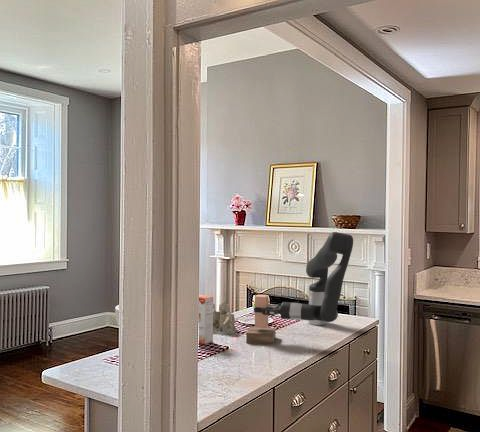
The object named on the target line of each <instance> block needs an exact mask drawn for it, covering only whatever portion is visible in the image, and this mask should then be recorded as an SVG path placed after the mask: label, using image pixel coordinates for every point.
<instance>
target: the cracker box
mask: <svg viewBox="0 0 480 432" xmlns="http://www.w3.org/2000/svg"><path fill="white" fill-rule="evenodd" d="M213 304H214V297H213V296H210V295H206V294H205V295H204V294H199V343H198V344H201V345H204V344H205V345H207V344H211V343H213V342H214V333H213Z"/></svg>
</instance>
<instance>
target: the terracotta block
mask: <svg viewBox="0 0 480 432" xmlns="http://www.w3.org/2000/svg"><path fill="white" fill-rule="evenodd" d="M268 304H269V294H257V295H255V296H254V308H255V307H260V308H263V307H264V308H267V307H268ZM265 312H267V311H266V310H265ZM254 327H261V328H266V327H269V315H263V314H262V313H259V312H254Z"/></svg>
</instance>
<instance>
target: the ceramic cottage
mask: <svg viewBox="0 0 480 432" xmlns="http://www.w3.org/2000/svg"><path fill="white" fill-rule="evenodd" d="M230 311H231V309H230V304H229V303H228V304H227V300H226V298H223V301H222V302H221V304H219V309H218V311H216V305H215V303H213V334H217V335H223V336H225V335H234V334H235V333H236V332H237V328H236V325H235V323H236V320H235V319H236V318H235V313H232V312H230Z"/></svg>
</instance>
